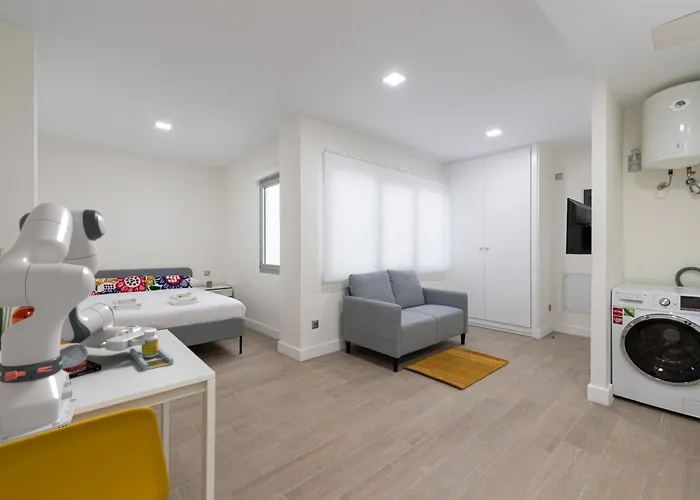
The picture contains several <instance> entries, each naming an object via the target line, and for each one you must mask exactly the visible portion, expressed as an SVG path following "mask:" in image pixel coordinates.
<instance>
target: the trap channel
mask: <svg viewBox="0 0 700 500" xmlns="http://www.w3.org/2000/svg"><path fill="white" fill-rule="evenodd" d="M129 355H130V356H131V357H132V358H133V359H134V360H135V362H136V363H137V364H138V365H139V366H140V367H141V369H142V370H143V371H148V370H151V369H156V368H162V367H165V365H166V366H170V365H171V364H172V365H174V358H173V357H172V356H171V355H170V354H168V353H167V352H166V351H165V350H164V349H163V348H161V347H160V346H159V345H158V354H157V355H158V356H159V355H160V356H159V357H160V358H157V359H152V360H145V359H144V357H142V355H141V354H140V353H139V352H138V351H137V350H136V349H135V348H133V347H131V348H129ZM169 364H170V365H169ZM161 366H162V367H161Z"/></svg>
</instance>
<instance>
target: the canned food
mask: <svg viewBox="0 0 700 500" xmlns="http://www.w3.org/2000/svg"><path fill="white" fill-rule="evenodd" d="M60 353H61V354H62V358H63V362H62V370H64V371H65V372H73V371H77V370H80V369H82V368H84V367H86V365H87V366H88V364H87V363H88V361H87V358H88V353H89V352H88V350H87V347H84V346H83V345H79V344H78V343H75V344H72V345H68V346H66V347H63V348H60Z"/></svg>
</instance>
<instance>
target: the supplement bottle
mask: <svg viewBox="0 0 700 500" xmlns="http://www.w3.org/2000/svg"><path fill="white" fill-rule="evenodd" d="M155 334H156V330H146V331H144V335H145V336H144V337H143V338H142V339H146V340H147V341H146V342H147V343H146V344H144V345H141V357H142V358H152V357H156V356H157V355H158V346H159V339H158V336H157V335H158V334H157V335H155Z"/></svg>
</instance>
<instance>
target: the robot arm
mask: <svg viewBox="0 0 700 500" xmlns="http://www.w3.org/2000/svg"><path fill="white" fill-rule="evenodd" d="M18 223H19V232H20V233H19V234H18V237H17V238H16V241H15V242H14V244H13V245H12V247H10V248H9V249H8V250H7V251H6V252H4V253H3V254H1V255H0V309H1V308H3V309H5V308H16V307H17V308H19V307H20V308H21V307H22V308H23V307H33V309H34V311H33V312H32V313H33V314H32V315H31V316H29V317H26V318H23V319H21V320H19V321H17V322H15V323H12V324H11V325H10V326H8V327H7V328H5V330H4V331H3V332H2V334H1V337H0V343H1V344H0V444H3V443H6V442H9V441H13V440H17V439H20V438H24V437H27V436H31V435H34V434H37V433H40V432H44V431H47V430H51V429H55V428H58V427H61V428H63V427H62V426H64V427H65V425H66V426H67V425H70V423H71V422H72V419H73V416H74V414H75V412H76V409H77V406H78V404H79V397H78V396H73V389H70V386H71V385H72V381H71V380H70V376H69V373H67V372H65V371H64V370H62V362H63V358H62V354H61V353H60V350H61V341H63V342H65V343H69V344H78V345H83V346H84V347H85V348H89V349H105V350H106V351H109V352H110V351H111V352H121V351H125V350H127V349H131V348H133V347H136V346H142V345H144V344H146V343H147V342H146V341H147V340H146V339H142V338H143V337H144V336H145V335H144V331H146V330H156V334H155V335H157V336H158V340H159V338H160V336H159V334H158V329H157V328H155V327H150V326H149V327H148V326H139V325H138V324H137V325H135V324H134V325H128V326H121V325H120V326H116V325H115V316H114V312H113V309H112V308H111V307H110V306H109V305H107V304H105V303H101V302H95V303H93V304H91V305H90V306H88V307H86V308H84V309H82V310H80V303H82V302H84V301H85V300H87V299H88V298H89V297H90V296H91V295H92V294H93V292H94V290H95V286H96V278H95V275H96V274H97V273H98V272H99V270H100V268H101V265H102V264H101V263H102V262H101V255H100V251H99V247H98V244H97V240H99V239H100V238H102V237H103V236H104V235H105V231H106V221H105V219H104V217H103V215H102V214H101V212H99V211H98V210H95V209H94V210H93V209H68V208H67V207H65V206H64V205H62V204H59V203H56V202H43V203H40V204H38V205H36V206H35V207H34V208H33V209H32V210H31V211H30V212H27V213H25V214H23V216H22V217H20V218H19V222H18ZM114 325H115V326H114ZM3 445H4V444H3Z"/></svg>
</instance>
